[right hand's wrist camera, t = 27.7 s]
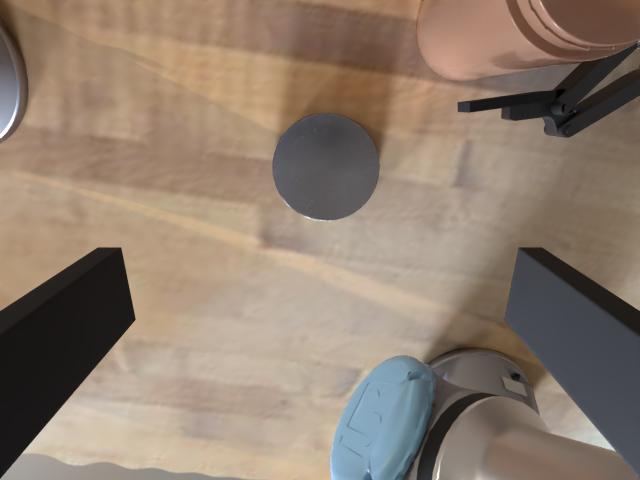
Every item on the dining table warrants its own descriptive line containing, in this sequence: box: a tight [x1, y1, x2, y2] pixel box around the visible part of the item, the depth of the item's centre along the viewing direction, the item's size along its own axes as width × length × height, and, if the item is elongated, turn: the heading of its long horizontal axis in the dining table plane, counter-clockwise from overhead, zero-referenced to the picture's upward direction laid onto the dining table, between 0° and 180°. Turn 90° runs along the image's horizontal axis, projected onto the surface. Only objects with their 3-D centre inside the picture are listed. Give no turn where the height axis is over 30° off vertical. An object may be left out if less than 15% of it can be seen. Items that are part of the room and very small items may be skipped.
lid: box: [273, 113, 379, 221], centre depth 37 cm, size 10×10×2 cm
